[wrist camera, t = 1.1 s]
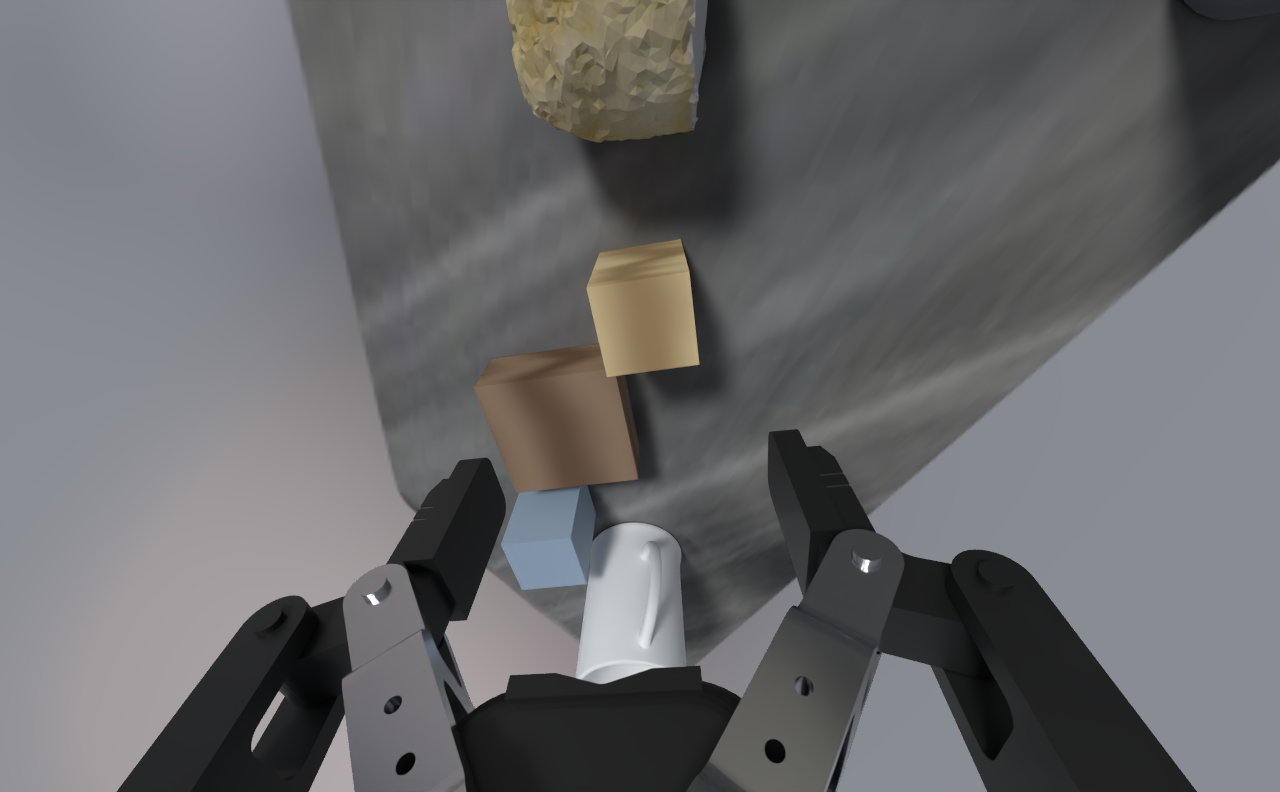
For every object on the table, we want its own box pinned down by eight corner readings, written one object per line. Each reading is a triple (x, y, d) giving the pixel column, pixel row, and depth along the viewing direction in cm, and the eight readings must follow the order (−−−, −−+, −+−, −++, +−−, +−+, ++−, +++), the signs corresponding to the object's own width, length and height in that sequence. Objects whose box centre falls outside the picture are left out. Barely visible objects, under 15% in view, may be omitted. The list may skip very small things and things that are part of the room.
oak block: (680, 239, 27) (689, 271, 21) (689, 316, 30) (699, 364, 24) (599, 252, 28) (586, 287, 22) (615, 326, 30) (607, 377, 24)
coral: (780, 165, 19) (545, 161, 16) (674, 131, 27) (499, 124, 23) (862, -188, 14) (525, -318, 10) (699, -105, 21) (473, -163, 17)
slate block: (583, 470, 37) (570, 538, 31) (596, 514, 40) (586, 584, 34) (524, 477, 38) (501, 545, 32) (540, 520, 40) (522, 589, 34)
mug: (616, 485, 38) (603, 620, 27) (710, 510, 39) (731, 648, 29) (579, 571, 44) (557, 709, 33) (662, 591, 45) (666, 730, 35)
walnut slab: (618, 340, 31) (614, 368, 27) (639, 444, 35) (638, 479, 32) (492, 359, 32) (473, 387, 28) (529, 458, 36) (516, 492, 33)
